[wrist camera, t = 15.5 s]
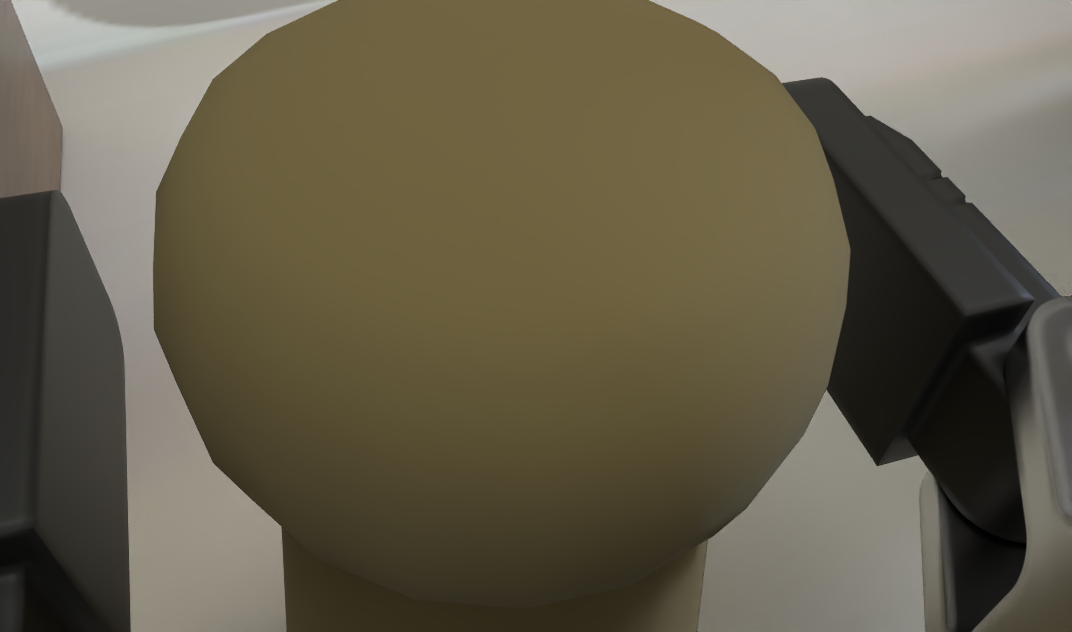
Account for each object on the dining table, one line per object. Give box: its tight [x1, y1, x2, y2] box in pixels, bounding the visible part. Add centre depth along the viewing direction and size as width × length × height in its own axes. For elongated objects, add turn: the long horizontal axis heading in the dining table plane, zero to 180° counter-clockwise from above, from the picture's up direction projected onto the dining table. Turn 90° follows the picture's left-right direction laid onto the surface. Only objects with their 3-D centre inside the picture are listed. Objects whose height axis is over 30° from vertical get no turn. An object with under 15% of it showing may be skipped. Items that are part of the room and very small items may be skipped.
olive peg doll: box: [153, 0, 851, 632], centre depth 10 cm, size 6×6×11 cm
